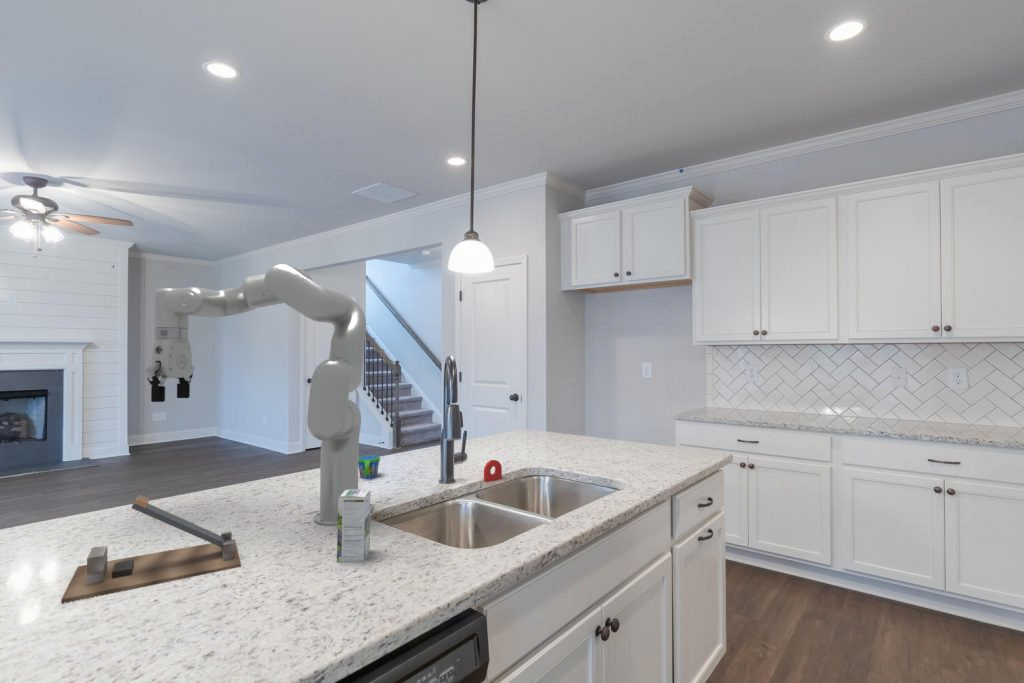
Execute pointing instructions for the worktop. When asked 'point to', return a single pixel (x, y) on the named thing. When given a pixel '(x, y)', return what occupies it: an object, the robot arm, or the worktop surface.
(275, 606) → the worktop surface
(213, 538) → the strap
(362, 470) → the snack cup
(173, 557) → the latch board
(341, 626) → the worktop surface
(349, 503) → the syrup box
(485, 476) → the bracket
